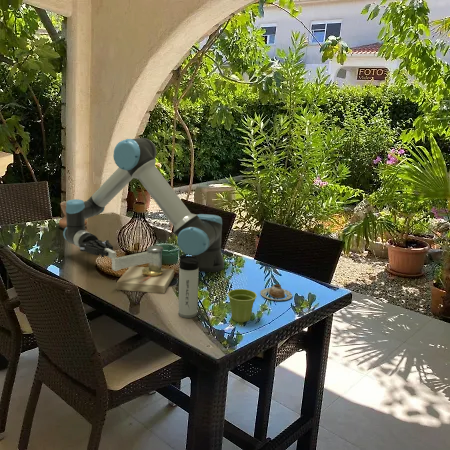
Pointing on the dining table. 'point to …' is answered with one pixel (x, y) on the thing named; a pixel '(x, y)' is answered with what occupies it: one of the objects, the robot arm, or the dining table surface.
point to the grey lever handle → (142, 261)
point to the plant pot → (241, 304)
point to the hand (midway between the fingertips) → (114, 255)
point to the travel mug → (188, 286)
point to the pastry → (276, 292)
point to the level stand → (145, 281)
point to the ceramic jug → (63, 221)
